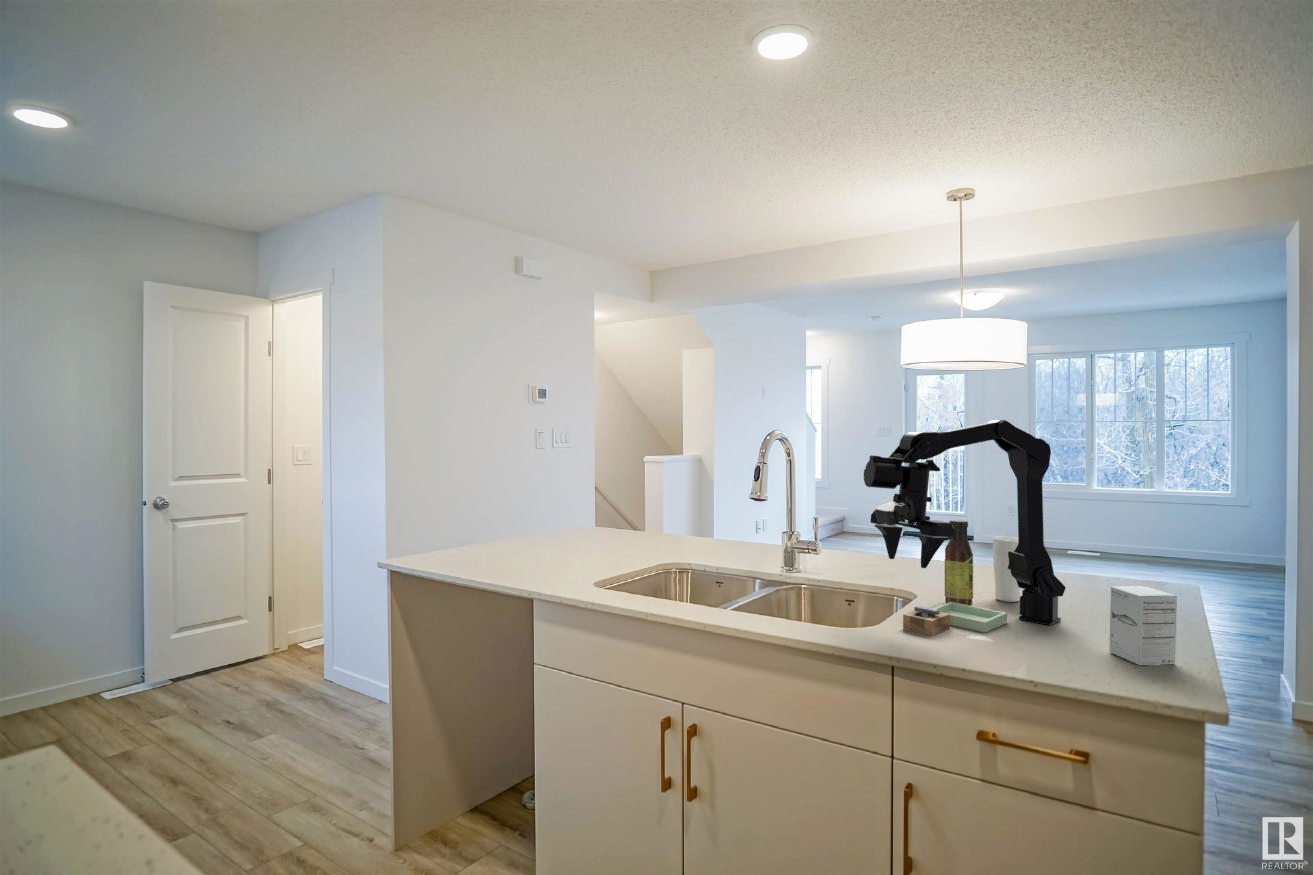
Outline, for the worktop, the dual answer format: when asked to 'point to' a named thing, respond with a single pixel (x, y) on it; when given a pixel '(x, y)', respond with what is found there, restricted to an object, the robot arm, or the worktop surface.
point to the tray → (973, 616)
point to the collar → (926, 622)
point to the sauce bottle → (959, 566)
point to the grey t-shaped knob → (926, 611)
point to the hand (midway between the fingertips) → (907, 563)
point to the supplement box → (1143, 625)
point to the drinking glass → (1004, 569)
